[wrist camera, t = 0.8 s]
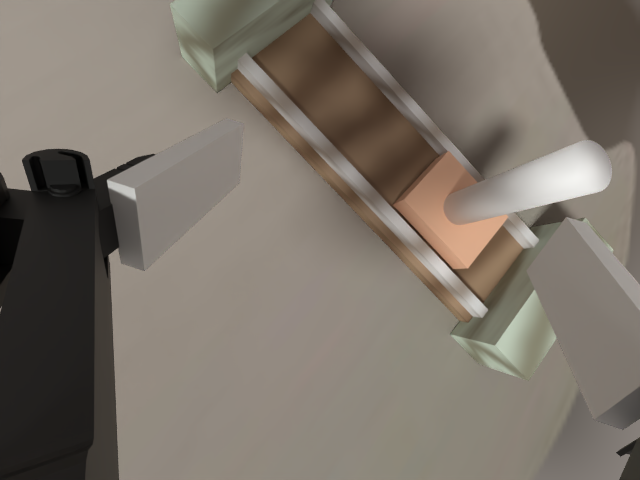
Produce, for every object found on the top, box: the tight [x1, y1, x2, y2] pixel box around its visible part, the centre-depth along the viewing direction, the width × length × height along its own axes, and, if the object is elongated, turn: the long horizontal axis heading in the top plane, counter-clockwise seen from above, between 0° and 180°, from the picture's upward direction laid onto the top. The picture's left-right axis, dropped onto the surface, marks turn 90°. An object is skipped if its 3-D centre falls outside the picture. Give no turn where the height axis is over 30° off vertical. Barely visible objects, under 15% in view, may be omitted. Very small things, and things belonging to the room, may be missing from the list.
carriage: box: [393, 140, 612, 269], centre depth 31 cm, size 10×8×16 cm
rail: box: [170, 0, 613, 381], centre depth 36 cm, size 48×18×7 cm, turn 46°
